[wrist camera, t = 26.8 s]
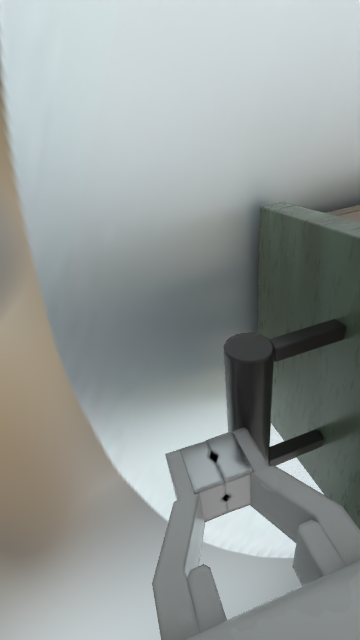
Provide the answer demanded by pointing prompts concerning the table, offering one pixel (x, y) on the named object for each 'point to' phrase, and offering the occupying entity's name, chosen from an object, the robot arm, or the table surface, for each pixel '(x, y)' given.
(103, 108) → the table surface
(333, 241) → the drawer
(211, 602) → the robot arm
